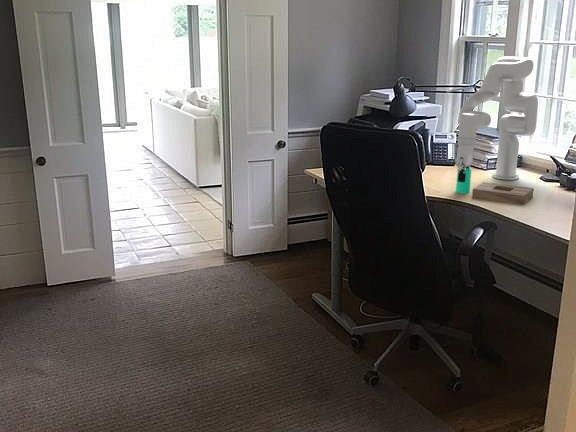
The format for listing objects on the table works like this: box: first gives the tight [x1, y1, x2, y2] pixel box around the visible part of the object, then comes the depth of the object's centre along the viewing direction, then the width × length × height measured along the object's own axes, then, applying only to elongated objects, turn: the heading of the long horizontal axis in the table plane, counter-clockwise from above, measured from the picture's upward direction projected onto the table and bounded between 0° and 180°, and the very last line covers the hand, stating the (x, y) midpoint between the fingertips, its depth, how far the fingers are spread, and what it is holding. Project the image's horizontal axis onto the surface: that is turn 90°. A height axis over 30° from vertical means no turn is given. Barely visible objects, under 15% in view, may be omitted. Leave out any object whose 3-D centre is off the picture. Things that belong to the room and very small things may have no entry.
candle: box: [455, 168, 472, 194], centre depth 278 cm, size 6×6×12 cm
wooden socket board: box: [471, 181, 535, 206], centre depth 270 cm, size 16×22×4 cm
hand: (463, 180), depth 278 cm, fingers closed on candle, 4 cm apart
